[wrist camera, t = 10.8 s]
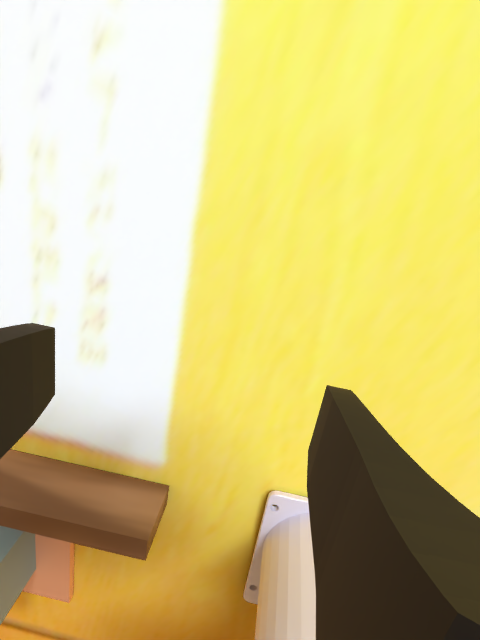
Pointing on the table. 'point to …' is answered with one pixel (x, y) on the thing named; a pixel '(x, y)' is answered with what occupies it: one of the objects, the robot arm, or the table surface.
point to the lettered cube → (15, 565)
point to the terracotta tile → (52, 569)
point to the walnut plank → (80, 504)
